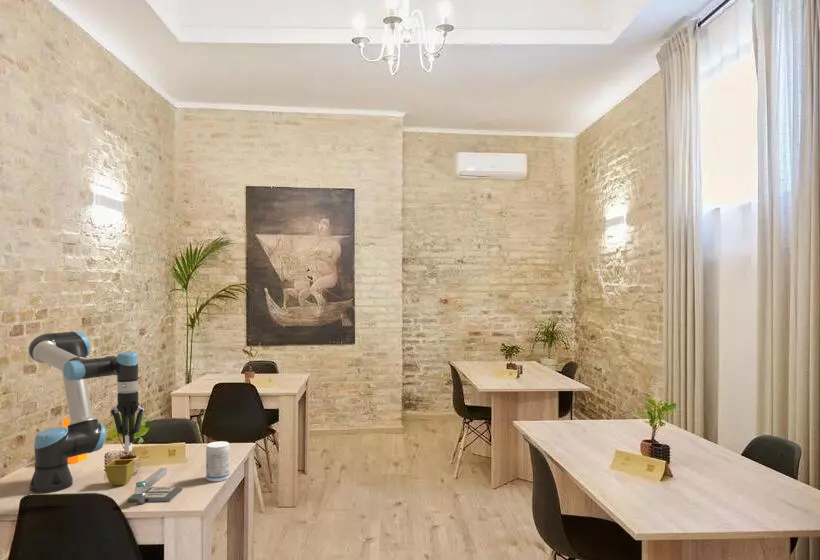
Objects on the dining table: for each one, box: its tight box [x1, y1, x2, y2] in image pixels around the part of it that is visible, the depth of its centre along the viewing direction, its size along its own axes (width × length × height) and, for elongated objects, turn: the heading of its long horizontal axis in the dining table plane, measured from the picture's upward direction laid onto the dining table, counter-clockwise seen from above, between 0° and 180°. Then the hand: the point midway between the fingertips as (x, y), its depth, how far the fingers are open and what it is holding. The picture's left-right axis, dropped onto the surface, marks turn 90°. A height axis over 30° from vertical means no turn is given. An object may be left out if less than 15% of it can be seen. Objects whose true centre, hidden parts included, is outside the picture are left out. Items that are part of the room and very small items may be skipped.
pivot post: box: [136, 492, 146, 506], centre depth 222 cm, size 3×3×4 cm
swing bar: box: [134, 467, 168, 494], centre depth 232 cm, size 23×4×3 cm, turn 0°
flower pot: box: [105, 458, 136, 487], centre depth 245 cm, size 9×9×9 cm
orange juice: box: [61, 418, 88, 464], centre depth 279 cm, size 8×9×20 cm
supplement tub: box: [205, 440, 231, 483], centre depth 251 cm, size 10×10×15 cm
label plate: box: [126, 486, 183, 503], centre depth 230 cm, size 16×13×2 cm
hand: (128, 451), depth 233 cm, fingers closed
